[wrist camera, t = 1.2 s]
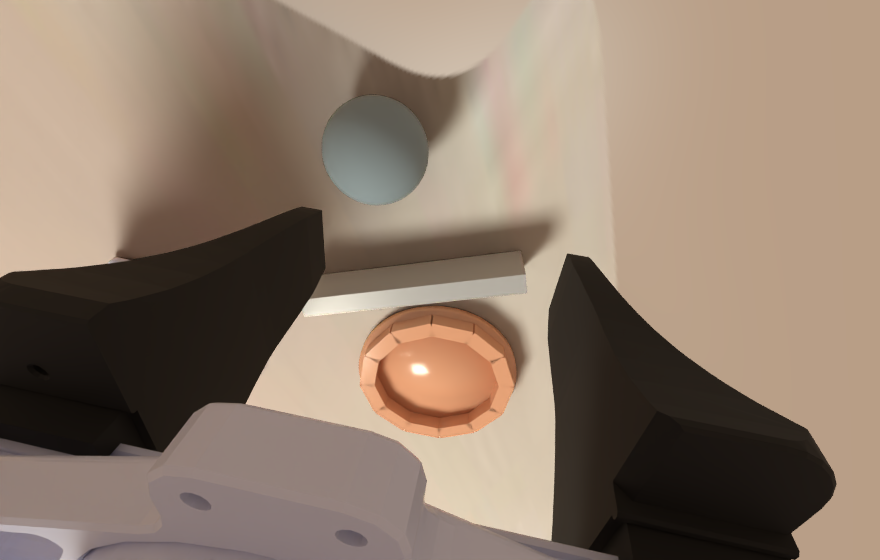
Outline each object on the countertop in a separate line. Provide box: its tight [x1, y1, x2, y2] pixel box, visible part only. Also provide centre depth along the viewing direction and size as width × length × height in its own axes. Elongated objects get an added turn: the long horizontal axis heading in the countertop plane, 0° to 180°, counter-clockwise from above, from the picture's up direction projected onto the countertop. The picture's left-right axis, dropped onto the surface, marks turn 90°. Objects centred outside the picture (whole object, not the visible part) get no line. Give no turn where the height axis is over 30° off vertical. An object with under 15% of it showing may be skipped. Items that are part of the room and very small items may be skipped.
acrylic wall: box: [302, 251, 527, 317], centre depth 26 cm, size 13×1×3 cm, turn 100°
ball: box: [322, 95, 429, 205], centre depth 21 cm, size 5×5×5 cm
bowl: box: [359, 306, 516, 438], centre depth 30 cm, size 11×11×2 cm
